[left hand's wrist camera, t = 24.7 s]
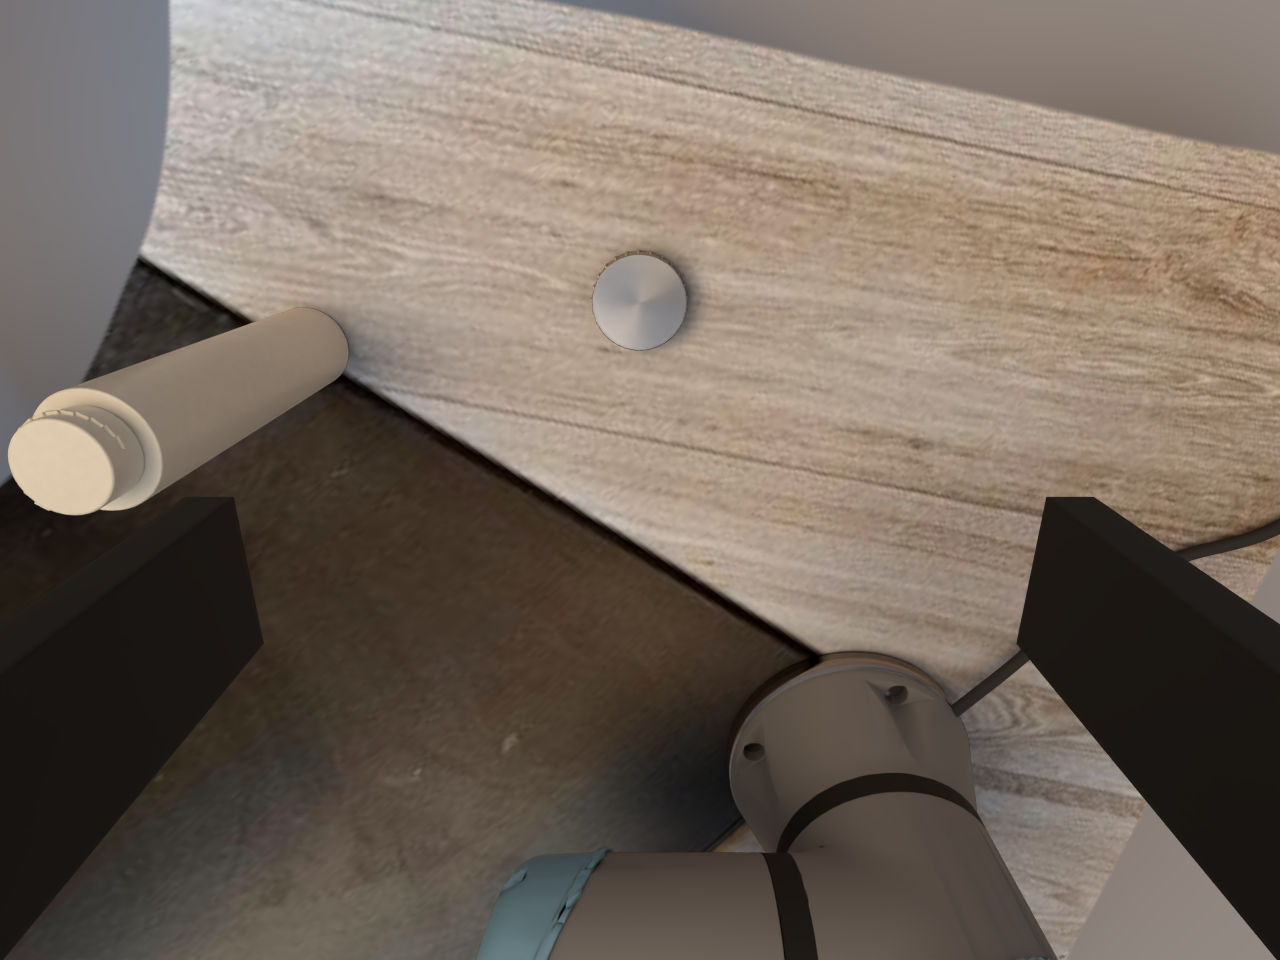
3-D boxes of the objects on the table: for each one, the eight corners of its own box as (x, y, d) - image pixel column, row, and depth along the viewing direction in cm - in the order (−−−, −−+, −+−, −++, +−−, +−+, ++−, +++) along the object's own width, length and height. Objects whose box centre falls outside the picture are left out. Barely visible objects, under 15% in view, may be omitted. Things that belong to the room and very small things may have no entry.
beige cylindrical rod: (293, 290, 40) (20, 373, 22) (363, 340, 41) (154, 457, 23) (255, 354, 41) (-34, 479, 24) (323, 401, 42) (96, 556, 25)
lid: (635, 363, 41) (634, 371, 40) (573, 293, 40) (570, 298, 38) (705, 303, 40) (708, 308, 39) (644, 228, 39) (644, 231, 37)
